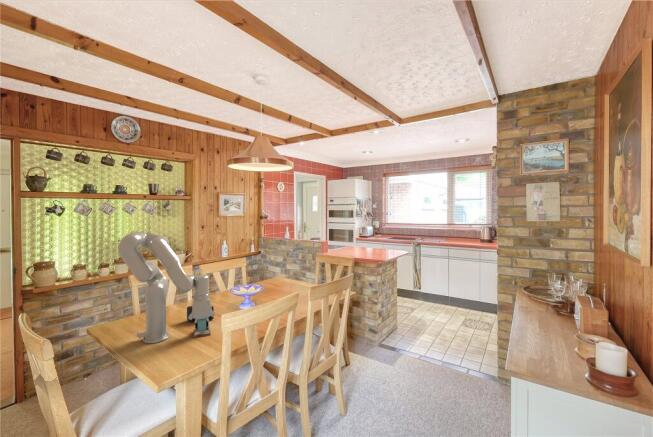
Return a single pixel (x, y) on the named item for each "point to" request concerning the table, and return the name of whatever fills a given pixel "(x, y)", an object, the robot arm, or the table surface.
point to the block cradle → (201, 332)
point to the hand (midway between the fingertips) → (201, 328)
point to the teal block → (201, 324)
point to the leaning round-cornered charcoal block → (189, 311)
